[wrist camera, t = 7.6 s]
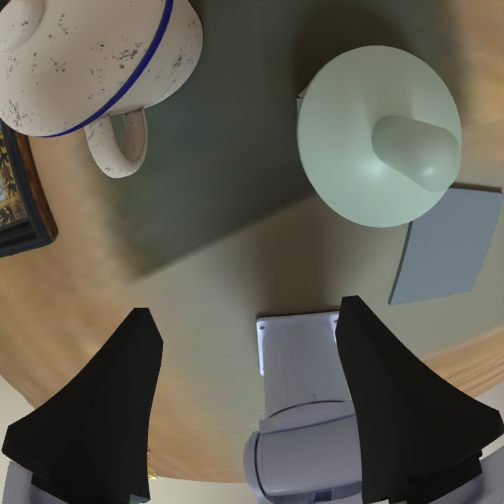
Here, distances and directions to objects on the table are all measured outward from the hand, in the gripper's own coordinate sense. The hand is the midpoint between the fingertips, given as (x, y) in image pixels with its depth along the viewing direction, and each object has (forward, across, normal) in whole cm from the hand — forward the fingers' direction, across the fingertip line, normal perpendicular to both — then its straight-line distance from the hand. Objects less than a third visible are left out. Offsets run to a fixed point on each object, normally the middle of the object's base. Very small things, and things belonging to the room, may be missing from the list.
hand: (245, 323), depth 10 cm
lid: (+7, -8, -5) cm, 12 cm away
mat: (+10, -19, +4) cm, 22 cm away
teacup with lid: (+11, +6, -10) cm, 16 cm away
